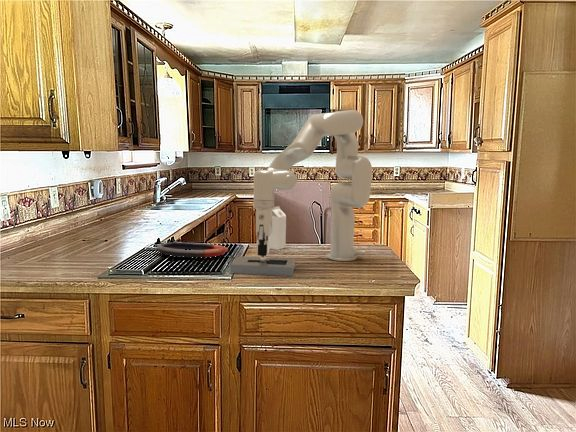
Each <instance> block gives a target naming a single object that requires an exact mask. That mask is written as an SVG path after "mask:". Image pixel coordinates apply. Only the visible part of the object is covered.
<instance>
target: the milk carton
mask: <svg viewBox="0 0 576 432" xmlns="http://www.w3.org/2000/svg"><path fill="white" fill-rule="evenodd" d="M286 234H287V215H286V213H285V212H283V210H282V209H281V207H280V205H278V206H274V209H272V234H271V235H270V236H269V237H268V239H269V250H274V251H275V250H276V251H280V250H282V249H285V248H286V245H287V244H286V242H287V241H286V240H287V239H286V238H287V237H286V236H287V235H286Z"/></svg>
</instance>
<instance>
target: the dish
mask: <svg viewBox="0 0 576 432" xmlns="http://www.w3.org/2000/svg"><path fill="white" fill-rule="evenodd" d="M156 248H157V250H158V252H159V253H160V254H161V253H163V254H167V255H173V256H184V257H212V256H220V255H222V256H223V255H225V253H227V252H228V251H229V248H228V246H227V247H226V246H223V245H220V244H219V245H218V244H215V243H214V244H212V243H205V242H204V243H201V242H188V241H187V242H181V241H178V240H174V241H173V242H164V243H163V242H162V243H159V244H157V245H156ZM185 249H193V250H185ZM163 254H162V255H163ZM220 257H221V256H220Z"/></svg>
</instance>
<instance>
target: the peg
mask: <svg viewBox="0 0 576 432" xmlns="http://www.w3.org/2000/svg"><path fill="white" fill-rule="evenodd" d="M266 245H267V255H268V254H269V253H270V249H269V239H266ZM256 255H258V239H257V240H256ZM267 255H266V256H260V255H259V257H260V263H266V258H267Z"/></svg>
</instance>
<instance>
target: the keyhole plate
mask: <svg viewBox="0 0 576 432" xmlns="http://www.w3.org/2000/svg"><path fill="white" fill-rule="evenodd" d="M229 267H230V271H231V272H233V273H232V274H237V275H239V274H240V275H256V276H257V275H261V276H277V277H278V276H279V277H280V276H281V277H292V276H293V274H294V270H295V267H296V258H288V257H287V258H285V257H266V263H260V256H243V255H242V256H241V255H240V256H239V255H238V256H237V257H236V258H235V259H234V261H232V263H231V264H230V266H229Z"/></svg>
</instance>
